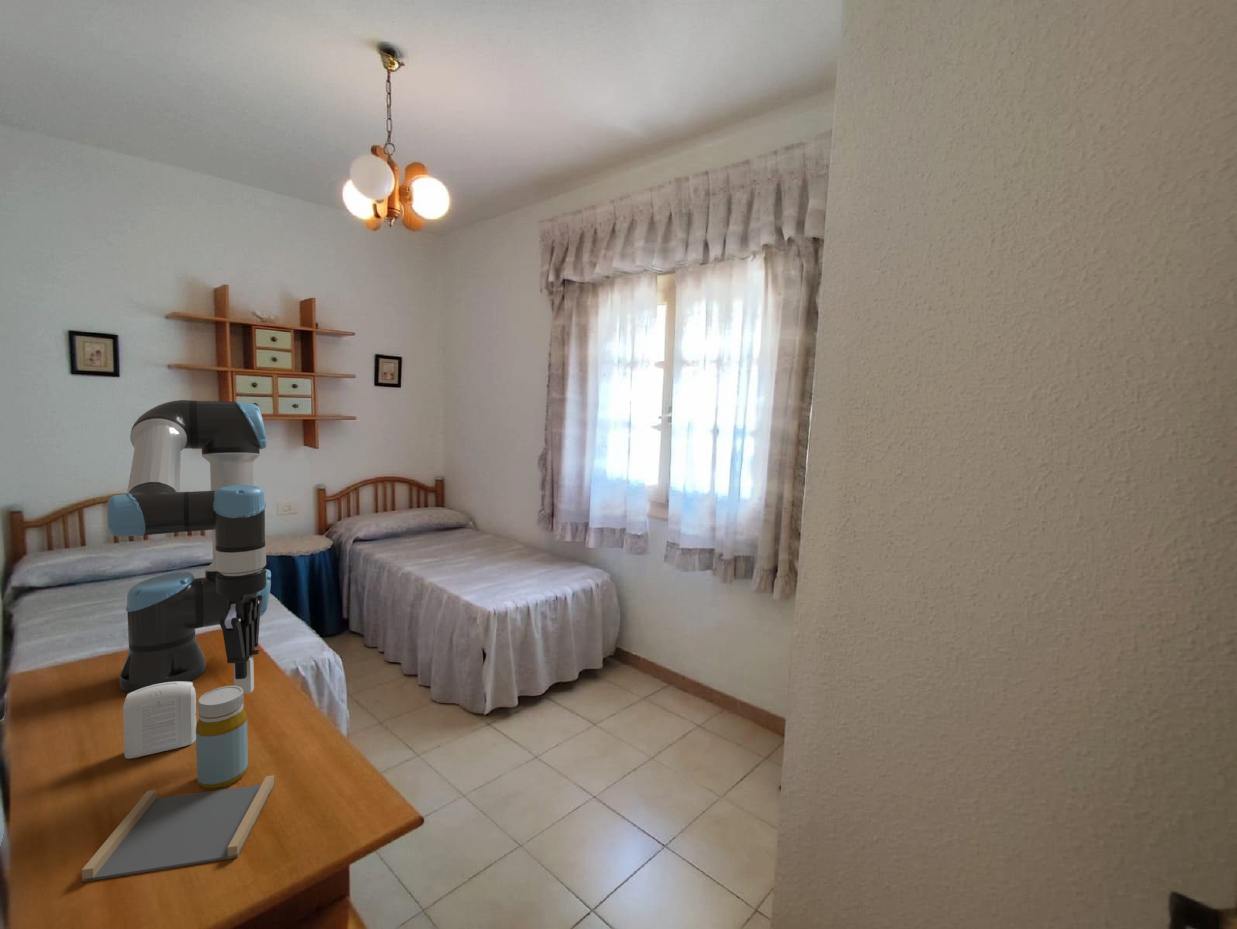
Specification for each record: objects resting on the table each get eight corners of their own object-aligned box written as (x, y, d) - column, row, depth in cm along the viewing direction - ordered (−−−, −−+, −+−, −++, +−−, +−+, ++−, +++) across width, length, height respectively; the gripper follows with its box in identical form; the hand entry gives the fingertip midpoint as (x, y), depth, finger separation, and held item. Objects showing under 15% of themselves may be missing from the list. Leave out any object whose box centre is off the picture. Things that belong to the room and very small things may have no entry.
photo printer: (198, 733, 103) (196, 673, 102) (195, 745, 99) (193, 683, 98) (127, 749, 97) (124, 686, 96) (122, 763, 94) (118, 697, 92)
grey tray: (147, 801, 85) (146, 791, 85) (274, 785, 90) (274, 775, 90) (82, 882, 71) (81, 869, 71) (237, 857, 76) (237, 846, 76)
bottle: (188, 783, 90) (185, 700, 88) (231, 759, 96) (229, 680, 95) (214, 796, 87) (212, 710, 86) (257, 770, 94) (255, 690, 92)
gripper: (232, 560, 102) (235, 676, 105) (200, 582, 90) (204, 713, 92) (276, 559, 104) (278, 672, 107) (250, 580, 92) (253, 708, 94)
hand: (244, 691), depth 99 cm, fingers closed
